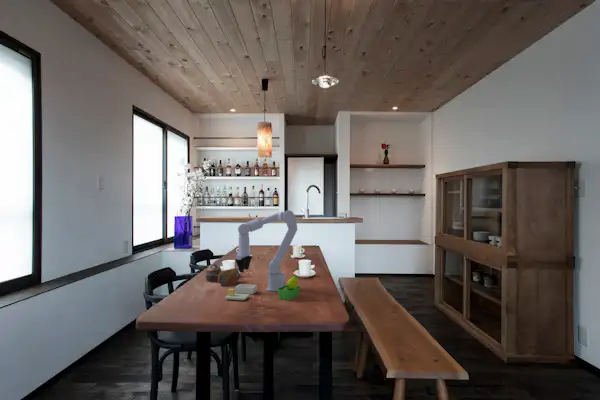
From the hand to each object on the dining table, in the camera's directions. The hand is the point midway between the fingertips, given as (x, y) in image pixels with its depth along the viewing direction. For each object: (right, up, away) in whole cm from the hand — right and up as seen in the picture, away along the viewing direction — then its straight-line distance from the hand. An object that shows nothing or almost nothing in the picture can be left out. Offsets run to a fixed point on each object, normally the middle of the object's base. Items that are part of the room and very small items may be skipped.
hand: (244, 270), depth 193 cm
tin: (-11, -11, +15) cm, 21 cm away
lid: (-1, -10, -17) cm, 20 cm away
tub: (+2, -10, -5) cm, 12 cm away
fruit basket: (+25, -11, -15) cm, 32 cm away
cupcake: (-22, -11, +22) cm, 33 cm away
